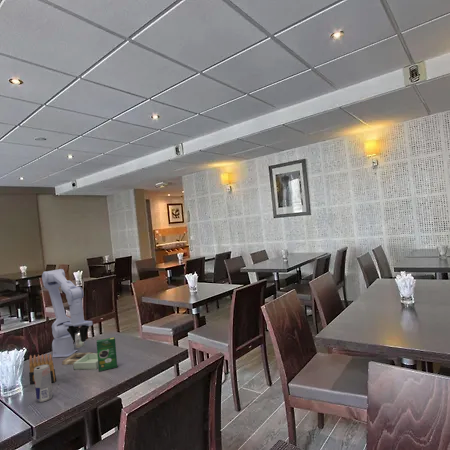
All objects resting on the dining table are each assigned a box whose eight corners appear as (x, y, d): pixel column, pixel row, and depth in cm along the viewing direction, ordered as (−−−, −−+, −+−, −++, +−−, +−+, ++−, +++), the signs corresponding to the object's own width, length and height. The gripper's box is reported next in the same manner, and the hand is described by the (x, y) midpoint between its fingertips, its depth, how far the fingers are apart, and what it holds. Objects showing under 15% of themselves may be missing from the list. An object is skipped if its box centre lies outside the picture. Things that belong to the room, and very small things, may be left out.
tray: (74, 370, 151) (73, 363, 151) (88, 359, 162) (87, 353, 162) (96, 369, 149) (95, 362, 149) (109, 359, 160) (108, 352, 160)
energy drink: (40, 396, 128) (37, 365, 128) (55, 394, 129) (51, 363, 129) (34, 403, 123) (30, 371, 123) (49, 401, 123) (45, 369, 123)
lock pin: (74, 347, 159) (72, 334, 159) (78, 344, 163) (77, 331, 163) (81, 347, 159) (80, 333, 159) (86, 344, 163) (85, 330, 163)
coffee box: (117, 365, 151) (114, 336, 151) (118, 367, 148) (115, 337, 148) (98, 369, 148) (95, 340, 148) (98, 372, 146) (95, 341, 146)
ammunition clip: (56, 381, 141) (53, 352, 141) (53, 383, 139) (50, 354, 139) (32, 382, 142) (29, 354, 142) (29, 384, 140) (26, 356, 140)
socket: (62, 364, 159) (62, 361, 159) (75, 356, 169) (74, 353, 169) (81, 363, 157) (81, 360, 157) (93, 355, 167) (93, 352, 167)
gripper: (95, 310, 163) (98, 337, 163) (69, 311, 166) (72, 338, 166) (86, 314, 156) (89, 343, 156) (59, 315, 159) (62, 344, 159)
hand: (79, 341), depth 161 cm, fingers closed on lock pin, 4 cm apart
